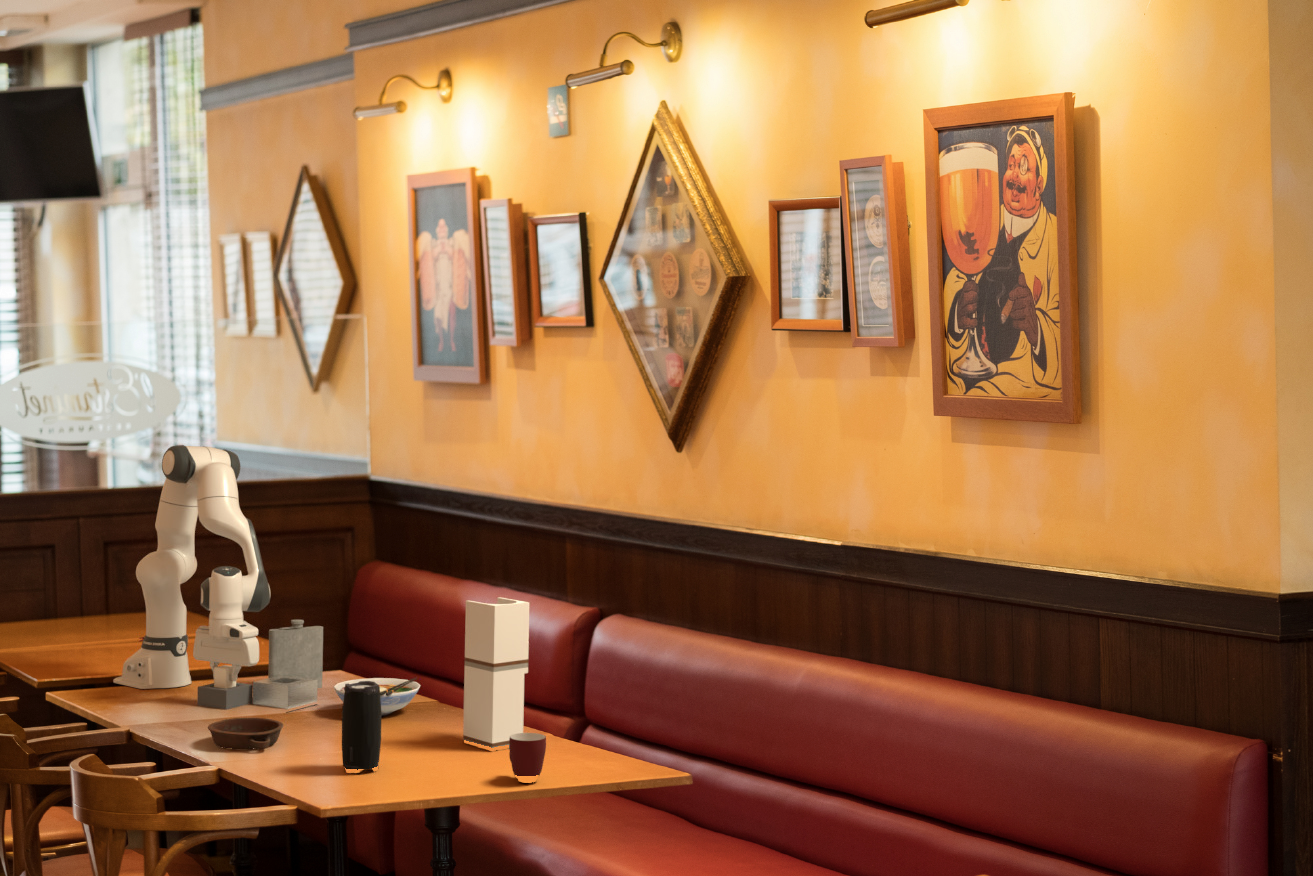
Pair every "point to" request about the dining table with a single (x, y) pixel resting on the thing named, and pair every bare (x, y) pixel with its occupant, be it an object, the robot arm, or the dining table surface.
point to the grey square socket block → (224, 696)
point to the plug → (223, 677)
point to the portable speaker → (361, 725)
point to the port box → (285, 692)
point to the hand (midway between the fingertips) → (225, 679)
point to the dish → (245, 733)
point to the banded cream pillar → (495, 670)
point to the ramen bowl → (387, 692)
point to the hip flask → (296, 651)
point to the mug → (527, 753)
